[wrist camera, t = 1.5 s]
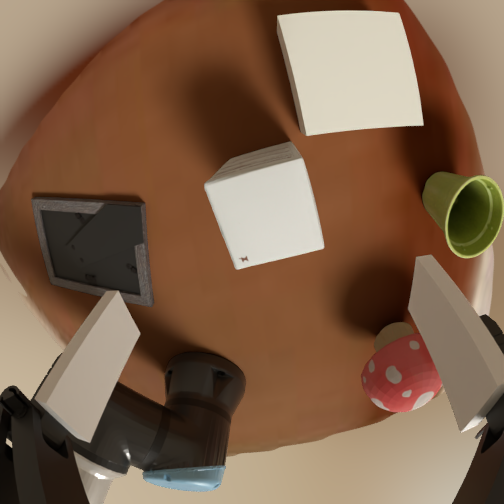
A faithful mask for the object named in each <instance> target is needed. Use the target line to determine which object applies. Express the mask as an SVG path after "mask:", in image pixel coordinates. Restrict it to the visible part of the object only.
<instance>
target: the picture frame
mask: <svg viewBox="0 0 504 504" xmlns="http://www.w3.org/2000/svg"><path fill="white" fill-rule="evenodd" d="M31 201H32V207H33V213H34V218H35V223H36V228H37V233H38V238H39V242H40V246H41V250H42V254H43V258H44V262H45V265H46V269H47V272H48V276H49V279H50V282H51V284H52V285H56V286H60V287H64V288H67V289H71V290H75V291H79V292H83V293H88V294H92V295H96V296H100V297H103V295H104V294H105V293H106V291H119V293H120V295H121V297H122V299H123V301H124V302H128V303H133V304H138V305H143V306H148V307H152V306H153V304H154V298H153V291H152V282H151V273H150V264H149V253H148V241H147V226H146V207H145V203H140V202H127V201H112V200H96V199H78V198H56V197H34V198H32V199H31Z"/></svg>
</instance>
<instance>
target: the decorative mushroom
mask: <svg viewBox="0 0 504 504" xmlns="http://www.w3.org/2000/svg"><path fill="white" fill-rule="evenodd" d="M374 347H375V350H376V352H377V353H375V354H374V355H373V356H372V358H371V359H370V360H369V361H368V362H367V363H366V365H365V367H364V370H363V372H362V374H361V378H362V386H363V389H364V391H365V392H366V394H367V395H368V397H369V398H370V399H371V400H372V401H373V402H374V404H376V405H377V406H378V407H380V408H383V409H385V410H388V411H392V412H407V411H411V410H414V409H417V408H419V407H421V406H423V405H424V404H426V403H427V402H429V401H430V400H431V399H432V398H433V397H434V396H435V395H436V394H437V392H438V391H439V389H440V388H441V386H442V385H443V383H442V381H441V379H440V376H439V374H438V371H437V369H436V367H435V364H434V362H433V360H432V358H431V355H430V353H429V351H428V349H427V347H426V344H425V342H424V340H423V338H422V336H421V334H420V333H415V334H414V332H413V329H412V327H411V326H410V325H409V324H408V323H405V322H397V323H392V324H389V325H387V326H385V327H384V328H383V329H382V330H381V331H380V333H379V334H378V336H377V337H376V339H375V342H374Z"/></svg>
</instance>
